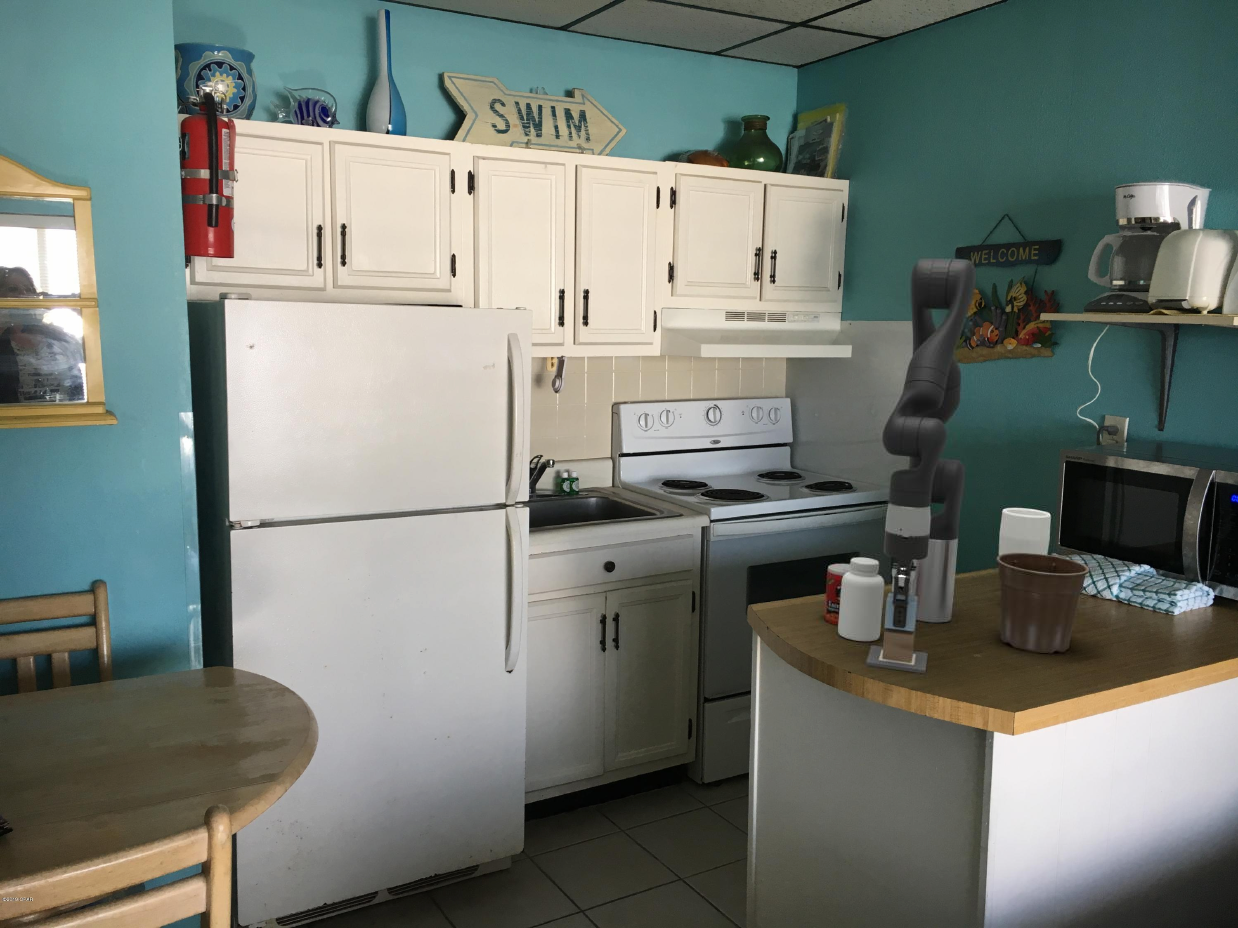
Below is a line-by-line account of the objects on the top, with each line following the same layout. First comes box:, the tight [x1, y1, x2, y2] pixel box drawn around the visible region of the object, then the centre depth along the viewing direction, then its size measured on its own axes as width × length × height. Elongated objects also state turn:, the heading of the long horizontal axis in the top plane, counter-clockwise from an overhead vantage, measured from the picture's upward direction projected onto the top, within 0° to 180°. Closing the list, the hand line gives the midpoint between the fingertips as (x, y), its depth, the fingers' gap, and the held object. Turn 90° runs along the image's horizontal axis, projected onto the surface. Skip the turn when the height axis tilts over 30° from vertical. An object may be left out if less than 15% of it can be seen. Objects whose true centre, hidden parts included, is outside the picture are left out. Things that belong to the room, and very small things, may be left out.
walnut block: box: [882, 627, 916, 663], centre depth 175 cm, size 5×5×5 cm
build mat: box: [865, 645, 929, 675], centre depth 175 cm, size 10×10×1 cm
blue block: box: [884, 592, 917, 631], centre depth 174 cm, size 5×5×5 cm
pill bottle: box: [837, 557, 885, 642], centre depth 188 cm, size 8×8×15 cm
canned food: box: [824, 563, 851, 626], centre depth 198 cm, size 8×8×11 cm
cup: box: [998, 507, 1052, 556], centre depth 210 cm, size 10×10×22 cm
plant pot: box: [996, 553, 1090, 654], centre depth 187 cm, size 16×16×16 cm
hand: (900, 622), depth 174 cm, fingers closed on blue block, 4 cm apart
